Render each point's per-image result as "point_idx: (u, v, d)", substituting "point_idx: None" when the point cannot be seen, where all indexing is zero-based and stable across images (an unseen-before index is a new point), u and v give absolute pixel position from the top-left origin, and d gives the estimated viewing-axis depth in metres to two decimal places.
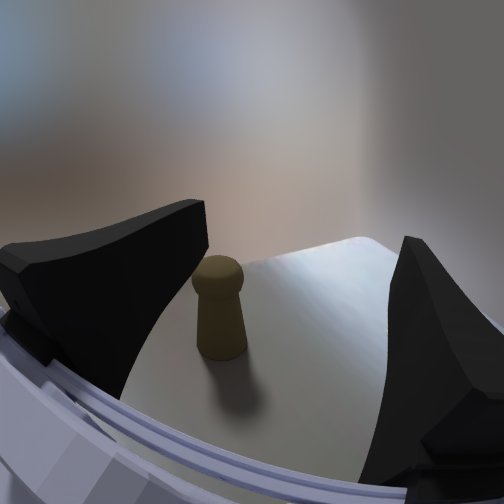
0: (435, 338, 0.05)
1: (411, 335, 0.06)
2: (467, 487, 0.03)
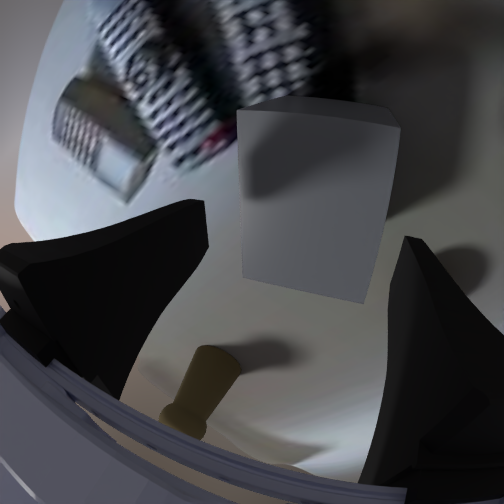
0: (435, 338, 0.05)
1: (411, 335, 0.06)
2: (467, 487, 0.03)
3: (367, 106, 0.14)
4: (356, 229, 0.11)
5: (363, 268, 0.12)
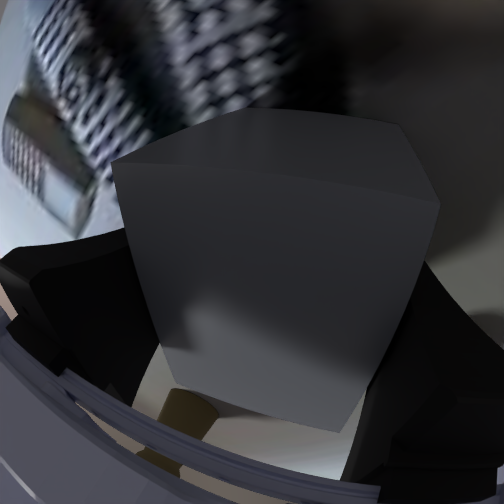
0: (411, 333, 0.05)
1: None
2: (443, 488, 0.03)
3: (367, 124, 0.09)
4: (330, 366, 0.06)
5: (340, 405, 0.07)
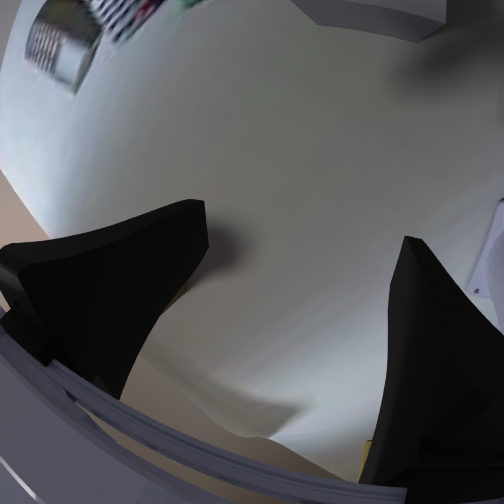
0: (435, 338, 0.05)
1: (411, 335, 0.06)
2: (466, 487, 0.03)
3: None
4: None
5: None
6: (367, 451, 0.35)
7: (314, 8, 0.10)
